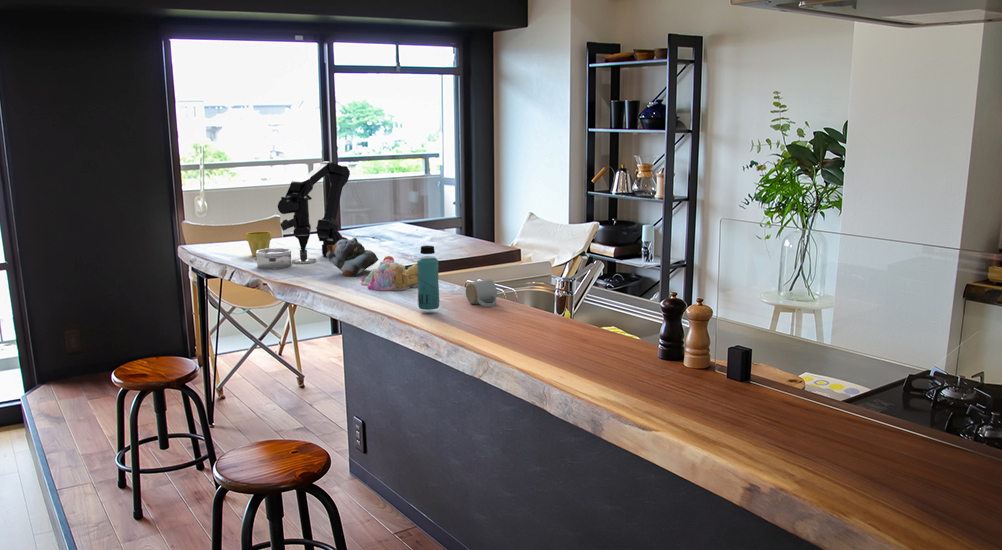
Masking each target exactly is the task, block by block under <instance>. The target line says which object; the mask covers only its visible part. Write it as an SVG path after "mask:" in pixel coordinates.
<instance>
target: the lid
mask: <svg viewBox="0 0 1002 550" xmlns="http://www.w3.org/2000/svg"><path fill="white" fill-rule="evenodd" d="M316 262H317V258H315V257H308V250H307V249H305V251H304V252H302V251H301V249H299V257H297V258H293V259H292V258H291V264H296V265H305V264H306V265H307V264H308V265H309V264H313V263H316Z"/></svg>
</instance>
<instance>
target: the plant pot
mask: <svg viewBox="0 0 1002 550" xmlns="http://www.w3.org/2000/svg"><path fill="white" fill-rule="evenodd" d="M245 238H246V239H245V240H246V242H248V246H249V248H250V252H251V255H252V256H253V257H257V256H256V251H257V250H262V249H268V248H270V244H271V240H272V232H271V231H263V230H262V231H250V232H246V233H245Z"/></svg>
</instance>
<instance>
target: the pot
mask: <svg viewBox="0 0 1002 550" xmlns="http://www.w3.org/2000/svg"><path fill="white" fill-rule="evenodd" d="M255 257H256V263H257V264H256V267H257V268H258V269H262V270H281V269H285V268H290V267H292V266H293V265H292V264H293V263H292V249H291V248H284V247H279V248H278V247H276V248H275V247H273V248H270V247H269V248H268V249H262V250H257V251H256V256H255Z"/></svg>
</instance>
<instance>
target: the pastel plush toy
mask: <svg viewBox="0 0 1002 550" xmlns="http://www.w3.org/2000/svg"><path fill="white" fill-rule="evenodd" d="M417 273H418V263H413V265H411V266H408V267H407V269H406V266H405V265H404V264H401V263H399V262H395V259H394V257H393V256H391V255H387V256H384V258H383V260H382V261H381V262H380V263H379V266H378V267H377V268H376V269H374V270H370V272H369V274H368V275H367V276H366V277H364V275H362V277H361V281H360V285H361V286H365V287H366V286H367V290H374V291H384V292H385V291H389V290H390V291H400V290H401V291H402V290H403V291H404V290H407V289H409V288H418V282H417V281H418V280H417V279H418V278H417V277H418V274H417Z"/></svg>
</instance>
